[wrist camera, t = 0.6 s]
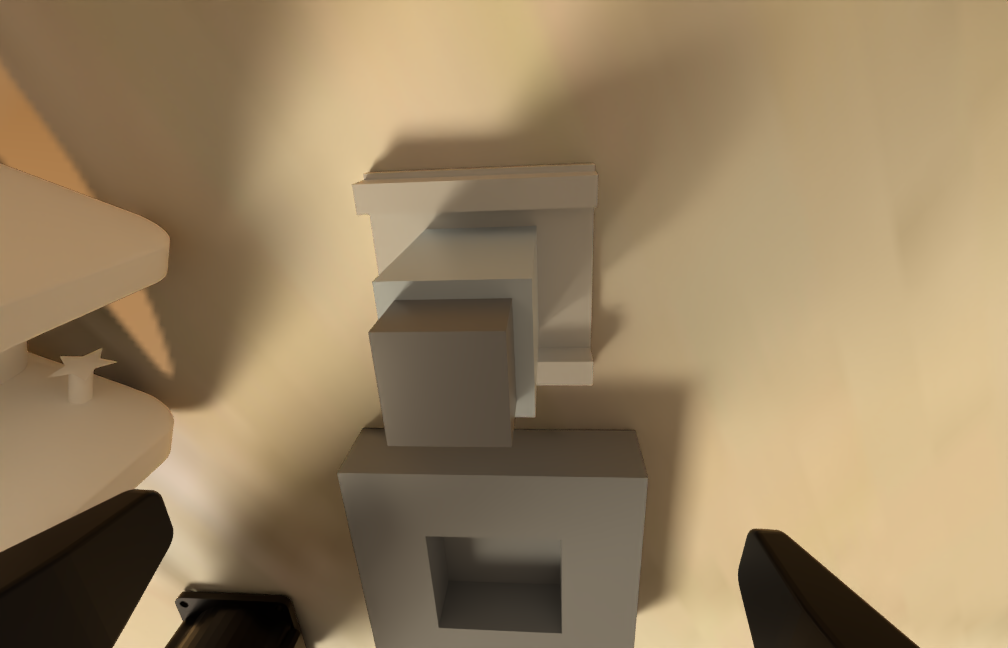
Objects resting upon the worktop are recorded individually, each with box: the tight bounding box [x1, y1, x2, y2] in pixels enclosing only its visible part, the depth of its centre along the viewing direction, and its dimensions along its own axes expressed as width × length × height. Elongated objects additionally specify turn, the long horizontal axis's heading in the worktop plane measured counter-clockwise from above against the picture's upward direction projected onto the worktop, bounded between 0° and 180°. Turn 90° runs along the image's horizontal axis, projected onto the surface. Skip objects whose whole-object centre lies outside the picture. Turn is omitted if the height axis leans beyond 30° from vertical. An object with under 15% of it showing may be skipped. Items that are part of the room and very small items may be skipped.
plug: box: [368, 226, 539, 447], centre depth 15 cm, size 4×4×8 cm
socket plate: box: [337, 428, 648, 648], centre depth 23 cm, size 12×12×3 cm
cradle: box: [352, 163, 598, 385], centre depth 18 cm, size 8×8×2 cm
